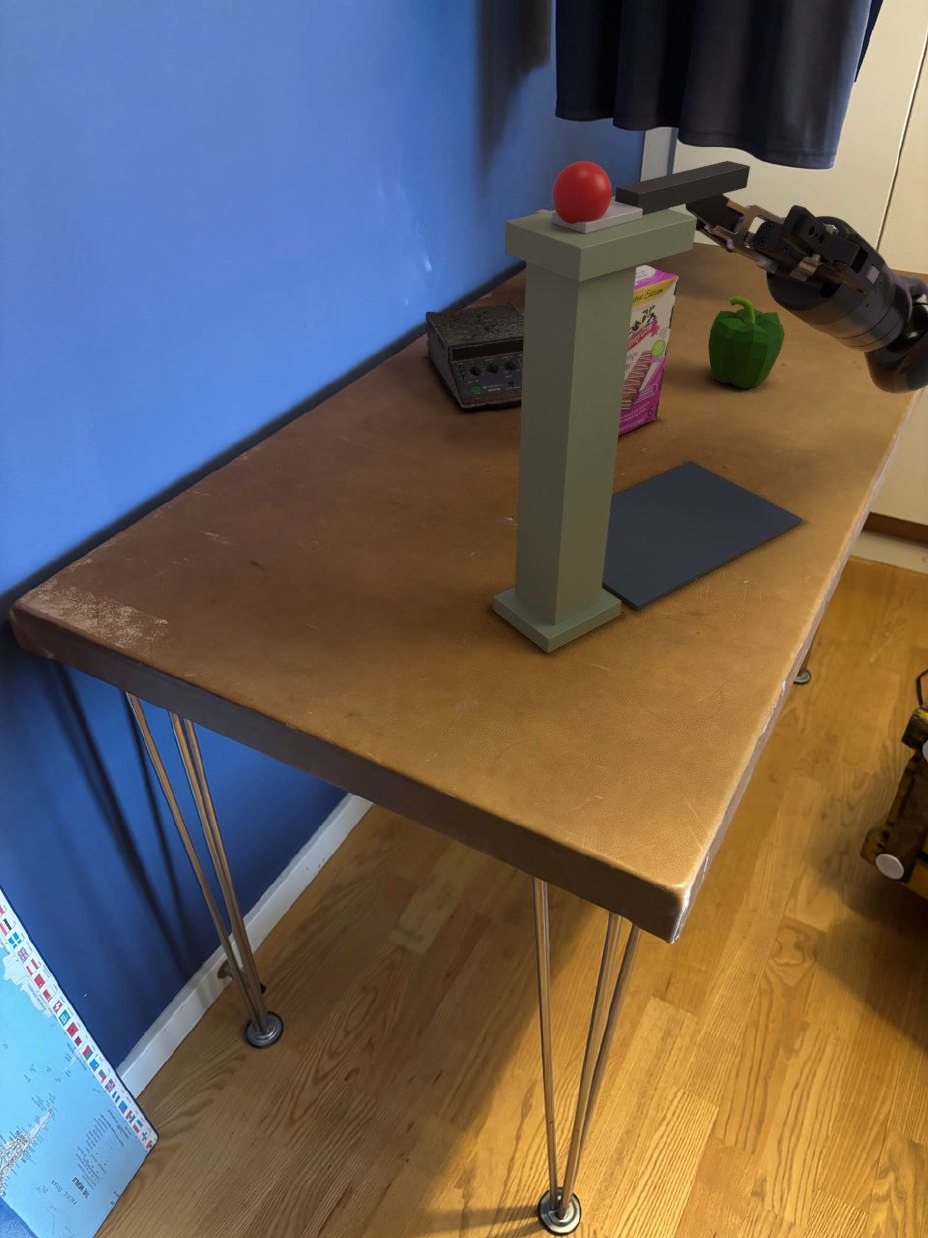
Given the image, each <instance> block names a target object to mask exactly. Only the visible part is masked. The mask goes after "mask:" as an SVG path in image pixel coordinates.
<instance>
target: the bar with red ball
mask: <svg viewBox="0 0 928 1238" xmlns="http://www.w3.org/2000/svg"><path fill="white" fill-rule="evenodd" d="M750 169H751V165H747V164H744V163H739V162H735V161H729V160H725V161H721V162H717V163H713V164H707V165H703V166H699V167H696V168H695V167H694V168H691V169H687V170H684V171H683V170H682V171H679V172H675V173H671V174H670V173H669V174H666V175H662V176H658V177H654V178H650V179H649V178H648V179H645V180H642V181H641V180H640V181H637V182H633V183H629V184H624V185H620V186H616V187H615V195H614V196H615V201H613V200H611V197H612V196H613V195H612V194H613V192H612V191H613V190H612V188H613V187H612V184H611V180H610V177H609V176H608V174H607V173H606V171H605V170H604V169H603V167H601V166H600V165H598V164H596V163H595V162H592V161H588V160H587V161H586V160H579V161H575V162H572V163H571V164H568V165H567V166H565V167H564V168H563V169H562V170H561V171H560V172H559V173H558V174H557V177H556V179H555V180H554V183H553V186H552V188H551V189H552V191H551V200H552V206H553V208H554V209H553V210H555V211H556V212H555V213H552V223H554V224H557V225H560V226H563V227H566V228H569V229H572V230H575V231H578V232H582V233H585V234H586V233H589V232H593V231H597V230H601V229H604V228H608V227H612V226H616V225H619V224H623V223H627V222H631V221H634V220H638V219H641V218H642V215H645V214H649V213H652V212H656V211H660V210H664V209H671V208H674V207H679V206H682V205H685V204H686V203H690V202H694V201H698V200H702V199H705V198H709V197H713V196H717V195H721V194H723V195H725V194H728V193H732V192H735V191H739V190H743V189H746V188H747V186H748V181H749V176H750V171H751V170H750Z"/></svg>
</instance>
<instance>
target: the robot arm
mask: <svg viewBox="0 0 928 1238" xmlns="http://www.w3.org/2000/svg"><path fill="white" fill-rule="evenodd" d="M684 206H685V210H686V211H687V212H688V213H690V214H691V215H692V216H693V217H696V218H697V222H696V229H695V232H699V233H701V234H702V235H704V236H705V237H707V238H708V239H709V240H711V241H712V242H714V243H715V244H717V245H718V246H720V247H721V248H723V249H724V250H725V251H726V252H727V253H729V254H732V253H733V254H739V255H740V256H743V257H744V258H746V259H749V260H751V261H753V262H754V264H755V265H756V267H757V268H759V269H761V270H763V271H765V272H766V273H765V274H766V283H767V284H766V285H767V289H768V292H769V294H770V296H771V298H772V299H773V300H774V301H775V302H776V304H777V305H779V306H780V307H782V308H783V309H785V310H786V311H788V312H789V313H790V314H792V315H794V316H795V317H796V318H798V319H799V320H801V322H804V323H805V324H807V325H808V326H809V327H811V328H812V329H814V330H816V331H818V332H820V333H823V334H825V335H828V336H830V338H832V339H834V340H835V341H837V342H838V343H840V344H841V345H843V346H844V347H846V348H848V349H850V350H854V351H856V352H863V354H864V355H863V356H864V358H865V362H866V366H867V371H868V374H869V377H870V379H871V381H872V383H873V384H874V386H875V387H876V388H877V389H879V390H880V391H882V392H885V393H888V394H893V395H902V394H903V395H904V394H909V393H913V392H916V391H919V390H921V389H923V388H925V387H927V386H928V285H927V283H926V282H925V281H924V280H923V279H922V278H920V277H917V276H910V275H905V274H904V275H903V274H897V273H896V272H895V271H894V270H893V269H892V268H891V267H890V266H889V265H888V264H887V262H886V260H885V258H884V257H883V256H882V254H880V253H879V251H878V250H877V249H876V248H874V247H873V246H872V244H870V243H869V242H868V241H867V240H866V239H865V238H864V237H863V236H862V235H861V234H860V233H859V232H857V231H856V230H855V229H854V228H853V227H852V226H851V224H849V223H848V222H847V221H845V220H843V219H842V218H839V217H835V216H831V215H821V216H815V215H814V213H812V212H811V211H810V210H809V209H808V208H807V207H805V206H802V205H799V204H794V205H792V206H791V207H790V209H789V211H788V213H787V215H786V216H784V217H781V216H779V215H777V214H775V213H773V212H771V211H769V210H767V209H765V208H763V207H762V206H759V205H757V204H749V205H746V206H743V205H741V204H740V203H738V202H735V201H733V200H731V198H730V197H728V196H725V194H721V195H717V196H713V197H709V198H705V199H702V200H698V201H694V202H690V203H686V204H684ZM756 218H758V219H760V220H762V221H763V222H761V223H760V225H758V228H757V229H756V230H755V231H756V232H752V231H750V229H751V227H752V224H753V222H754V220H755V219H756Z"/></svg>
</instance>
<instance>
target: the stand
mask: <svg viewBox="0 0 928 1238" xmlns="http://www.w3.org/2000/svg"><path fill="white" fill-rule="evenodd" d="M611 200H613V201H615V195H612V196H611ZM547 211H548V212H543V213H539V214H535V215H533V214H531V215H527V216H523V217H517V218H513V219H509V220H506V221H505V225H504V254H505V255H509V256H511V257H513V258H515V259H518V260H521V261H524V262H525V264H526V265H525V286H524V287H525V289H524V291H525V292H524V315H523V316H524V345H523V374H522V403H521V404H520V405H521V406H520V407H521V408H520V409H521V410H520V436H519V439H520V440H519V462H518V463H519V465H518V495H517V523H516V524H517V525H516V551H515V552H516V555H515V581H514V584H515V585H514V586H512V587H510V588H507V589H506V590H504V591H502V592H499V593H497V594H495V595H493V598H492V607H493V608H492V610H493V612H495V613H496V614H497V615H498V616H500V617H501V618H502V619H503V620H505V621H506V622H508V623H509V624H510V625H511V626H512V627H513V628H515V629H516V630H517V631H518V632H520V633H521V634H523V635H524V636H525V637H526V638H527V639H529V640H530V641H531V642H533V644H535V645H536V646H538V647H539V648H540V649H541V650H542V651H544V652H545V653H547V654H549V653H551V652H553V651H555V650H557V649H559V648H560V647H563V646H564V645H566V644H568V643H570V642H572V641H574V640H576V639H578V638H579V637H580V638H581V636H584V635H585V634H587V633H589V632H590V631H591V632H592V631H593V630H595V629H597V628H599V627H600V626H602V625H604V624H606V623H608V622H610V621H612V620H613V619H615V618H618V617H619V616H621V610H622V602H623V601H622V600H621V599H619V598H618V597H616V596H615V595H614V594H612V593H611V592H609V591H608V590H606V589H605V588H603V587H602V580H603V571H604V561H605V552H606V543H607V534H608V525H609V515H610V506H611V497H612V496H613V488H614V478H615V477H614V476H615V468H616V461H617V460H616V458H617V451H618V449H617V448H618V442H619V441H618V439H619V436H618V433H619V424H620V414H621V405H622V396H623V387H624V378H625V368H626V359H627V350H628V341H629V332H630V322H631V313H632V304H633V295H634V286H635V276H636V267H638V266H641V265H645V264H648V263H651V262H655V261H658V260H661V259H665V258H668V257H671V256H675V255H679V254H682V253H685V252H689V251H693V248H694V242H695V235H696V230H695V229H696V222H697V218H696V217H695V216H694V215H690V214H686V213H683V212H679V211H676V210H672V209H670V208H668V209H664V210H660V211H656V212H652V213H649V214H645V215H642V218H641V219H638V220H634V221H631V222H627V223H623V224H619V225H616V226H612V227H608V228H604V229H601V230H597V231H593V232H589V233H586V234H585V233H582V232H578V231H575V230H572V229H569V228H566V227H563V226H560V225H557V224H554V223H552V213H555V212H556V211H555V209H553V210H547Z"/></svg>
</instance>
